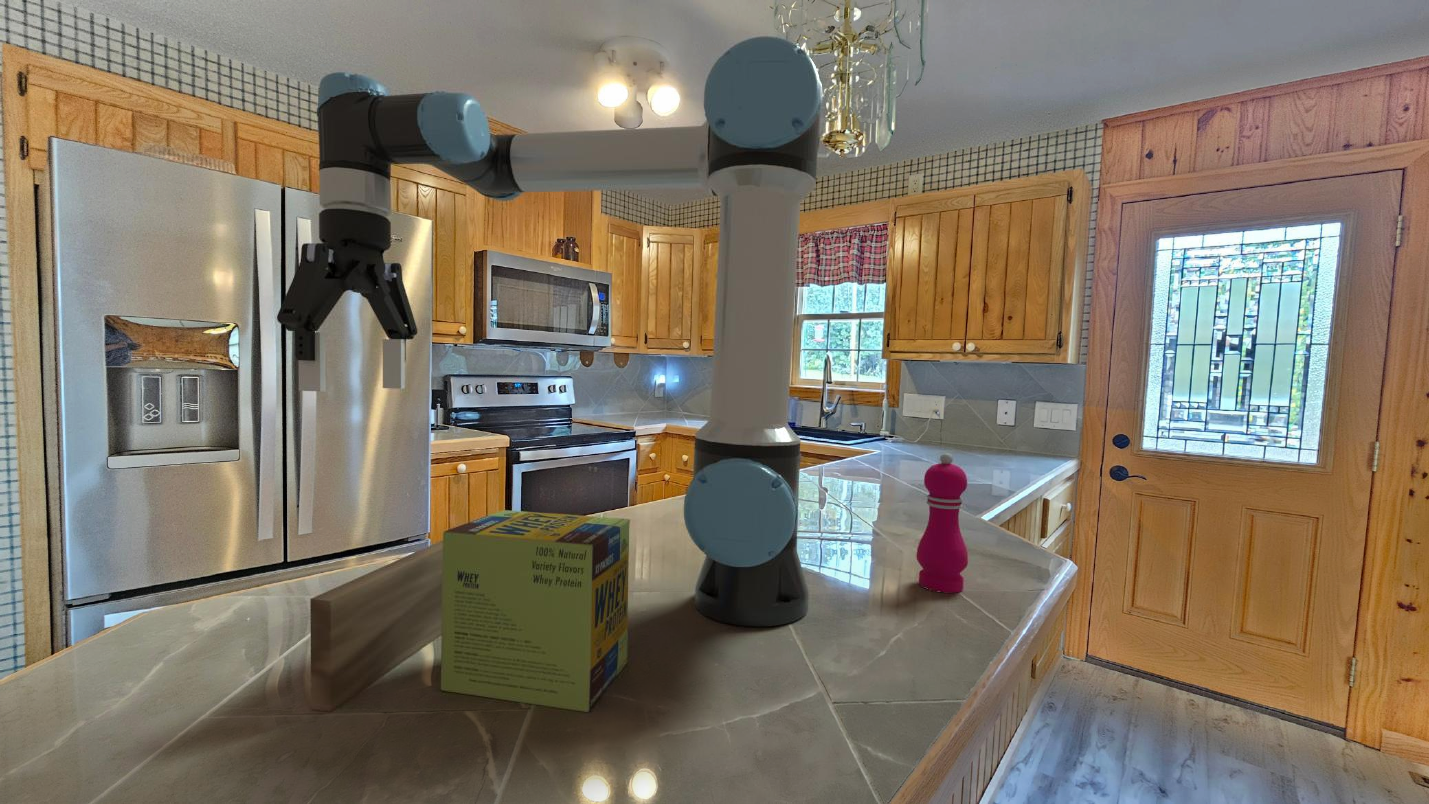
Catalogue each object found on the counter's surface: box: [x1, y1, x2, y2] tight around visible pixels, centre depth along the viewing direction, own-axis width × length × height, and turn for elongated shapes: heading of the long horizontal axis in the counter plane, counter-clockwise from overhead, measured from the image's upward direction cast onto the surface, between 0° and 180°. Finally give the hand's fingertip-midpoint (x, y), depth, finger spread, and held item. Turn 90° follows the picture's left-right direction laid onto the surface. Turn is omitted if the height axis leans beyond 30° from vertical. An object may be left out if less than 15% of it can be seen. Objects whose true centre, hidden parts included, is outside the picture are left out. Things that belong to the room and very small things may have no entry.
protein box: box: [440, 509, 631, 713], centre depth 62 cm, size 10×15×16 cm
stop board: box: [309, 539, 443, 713], centre depth 65 cm, size 2×20×10 cm, turn 171°
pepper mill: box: [916, 452, 969, 594], centre depth 93 cm, size 7×7×20 cm
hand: (356, 390), depth 76 cm, fingers open, 13 cm apart
